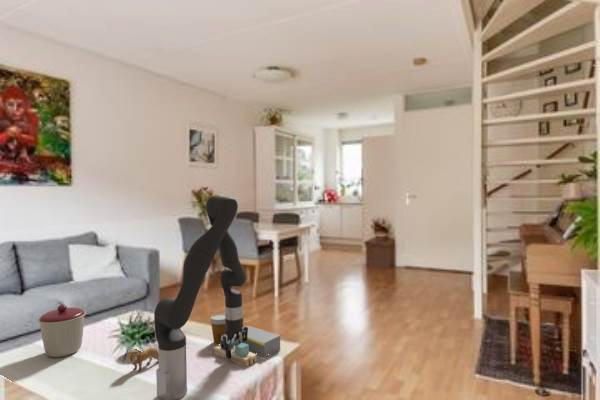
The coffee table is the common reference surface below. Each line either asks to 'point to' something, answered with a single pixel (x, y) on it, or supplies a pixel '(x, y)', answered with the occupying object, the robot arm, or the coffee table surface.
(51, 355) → the canister
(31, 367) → the coffee table surface
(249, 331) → the block
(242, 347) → the teal cube
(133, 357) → the lion figurine
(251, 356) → the pallet
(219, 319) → the disposable coffee cup
